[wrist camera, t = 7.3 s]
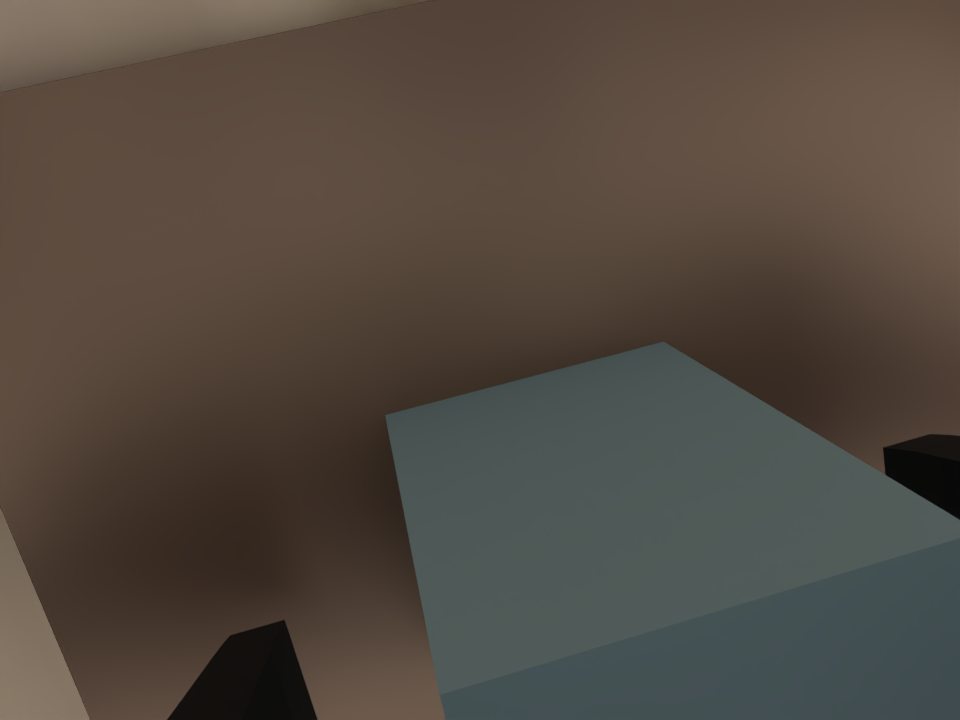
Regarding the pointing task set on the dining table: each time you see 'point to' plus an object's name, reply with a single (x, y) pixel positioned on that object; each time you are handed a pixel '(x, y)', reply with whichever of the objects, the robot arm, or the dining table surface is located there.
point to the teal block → (669, 555)
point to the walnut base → (435, 289)
